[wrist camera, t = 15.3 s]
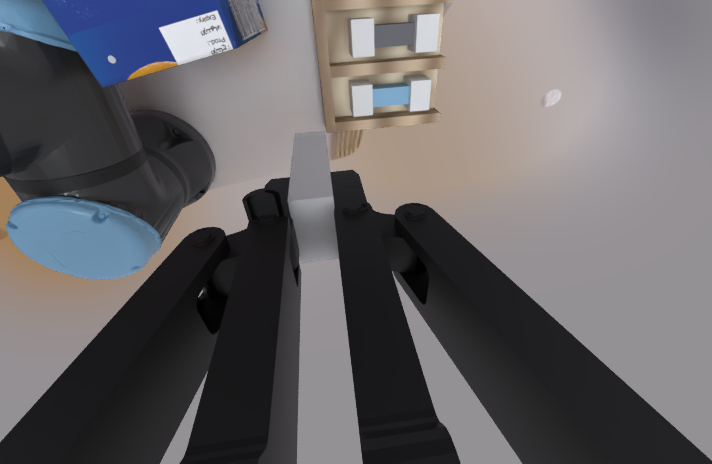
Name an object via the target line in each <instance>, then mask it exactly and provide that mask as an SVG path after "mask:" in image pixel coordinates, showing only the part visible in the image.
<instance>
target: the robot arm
mask: <svg viewBox="0 0 712 464" xmlns="http://www.w3.org/2000/svg"><path fill="white" fill-rule="evenodd" d="M2 176H3V177H4V178H5V179H6V181H7V182H8V183H9V185H10V186H11V187H12V188H13V190H14V191H15V193H16V194H17V195H18V197H19V198H20V199H21V201H22V202H21V203H19V204H17V205H16V206H15V207H14V208H13V209H12V210H11V214H10V215H9V217H8V218H9V221H8V223H7V224H6V228H7V233H8V235H9V237H10V239H11V241H12V242H13V243H14V245H15V246H16V247H17V248H18V249H19V250H20V251H21V252H23V253H24V254H25V255H26V256H28V257H29V258H30V259H32V260H34V261H35V262H37V263H39V264H41V265H43V266H45V267H47V268H50V269H52V270H54V271H57V272H61V273H66V274H69V275H71V276H75V277H80V278H86V279H100V280H103V279H116V278H121V277H125V276H128V275H131V274H133V273H135V272H137V271H139V270H140V269H141V268H142V267H144V266H145V265H146V264H147V262H148V261H149V260H150V258H151V257H152V256H153V255H154V254H155V253H156V252H157V251H158V250H159V249H160V247H161V244H162V242H163V240H164V239H165V237H166V235H167V234H168V232H169V230H170V228H171V227H172V225H173V223H174V222H175V220H176V218H177V217H178V215H179V213H180V211H181V210H182V208H184V207H186V206H188V205H190V204H192V203H194V202H196V201H197V200H199V199H200V198H201V197H202V196H203V195H204V194H205V193H206V192H207V191H208V189H209V187H210V185H211V184H212V182H213V179H214V176H215V161H214V157H213V154H212V151H211V149H210V147H209V146H208V144H207V142H206V141H205V140H204V138H203V137H202V136H201V135H200V134H199V133H198V132H197V131H196V130H195V129H194V128H193V127H191V126H190V125H189V124H187V123H186V122H184V121H182V120H181V119H179V118H177V117H175V116H172V115H170V114H167V113H163V112H159V111H151V110H143V111H136V112H132V113H130V112H129V110H128V108H127V105H126V103H125V101H124V98H123V96H122V94H121V91H120V89H119V86H118V84H117V83H116V84H113V85H110V86H106V87H103V88H102V86H101V85H100V84H99V82H98V81H97V79H96V78H95V76H94V75H93V73H92V72H91V71H90V69H89V68H88V66H87V65H86V63H85V62H84V61H83V59H82V58H81V56H80V55H79V53H78V52H77V50H76V49H75V48H74V46H73V45H72V43H71V42H70V40H69V39H68V37H67V36H66V35H65V33H64V32H63V30H62V29H61V27H60V26H59V24H58V23H57V22H56V20H55V19H54V17H53V16H52V14H51V13H50V11H49V10H48V9H47V7H46V6H45V4H44V3H43V1H42V0H0V177H2ZM242 201H243V204H244V207H245V211H246V213H247V217H248V220H249V223H248V227H247V229H245V230H242V231H240V232H237V233H234V234H230V235H227V236H226V235H225V232H224V230H222V229H221V228H217V227H207V228H202V229H198V230H196V231H195V232H193V233H191V234H189V235H188V236H187V237H185V238H184V239H183V240H182V241H181V243H180V244H179V245H178V246H177V247H176V248H175V249H174V250H173V251H172V253H171V254H170V255H169V256H168V257H167V258H166V259H165V260H164V261H163V262H162V264H161V265H160V266H159V267H158V268H157V269H156V270H155V271H154V273H153V274H152V275H151V276H150V277H149V278H148V279H147V280H146V281H145V282H144V284H143V285H142V286H141V287H140V288H139V289H138V290H137V291H136V292H135V293H134V295H133V296H132V297H131V298H130V299H129V300H128V301H127V302H126V304H125V305H124V306H123V307H122V308H121V309H120V310H119V311H118V312H117V314H116V315H115V316H114V317H113V318H112V319H111V320H110V321H109V322H108V323H107V325H106V326H105V327H104V328H103V329H102V330H101V331H100V332H99V333H98V334H97V336H96V337H95V338H94V339H93V340H92V341H91V342H90V343H89V344H88V346H87V347H86V348H85V349H84V350H83V351H82V352H81V353H80V354H79V356H78V357H77V358H76V359H75V360H74V361H73V362H72V364H70V366H69V367H68V368H67V369H66V370H65V371H64V372H63V373H62V374H61V376H60V377H59V378H58V379H57V380H56V381H55V382H54V383H53V384H52V386H51V387H50V388H49V389H48V390H47V391H46V392H45V393H44V394H43V396H42V397H41V398H40V399H39V400H38V401H37V402H36V403H35V404H34V405H33V407H32V408H31V409H30V410H29V411H28V412H27V413H26V414H25V416H24V417H23V418H22V419H21V420H20V421H19V422H18V423H17V424H16V426H15V427H14V428H13V429H12V430H11V431H10V432H9V433H8V434H7V435H6V437H5V438H4V439H3V440H2V441H1V442H0V464H160V462H161V460H162V458H163V456H164V454H165V452H166V450H167V448H168V447H169V444H170V442H171V441H172V439H173V437H174V435H175V433H176V431H177V429H178V427H179V425H180V423H181V421H182V419H183V418H184V415H185V414H186V412H187V410H188V408H189V406H190V404H191V402H192V400H193V398H194V396H195V394H196V392H197V390H198V388H199V387H200V385H201V383H202V381H203V379H204V377H205V375H206V373H207V371H208V373H207V377H206V381H205V384H204V388H203V392H202V395H201V399H200V403H199V406H198V410H197V414H196V417H195V421H194V425H193V428H192V432H191V436H190V439H189V443H188V447H187V450H186V453H185V455H184V458H183V459H182V461H181V462H180V464H297V422H298V383H299V342H300V300H301V270H300V265H299V256H300V261H301V263H306V262H314V261H323V260H331V259H339V261H340V270H341V278H342V287H343V296H344V304H345V313H346V321H347V330H348V338H349V347H350V356H351V365H352V373H353V382H354V391H355V398H356V408H357V416H358V425H359V434H360V443H361V451H362V460H363V464H460V460H459V458H458V455H457V452H456V449H455V446H454V444H453V441H452V438H451V436H450V434H449V432H448V430H447V428H446V427H445V426H444V425H443V424H442V423H441V422H440V421H439V420H438V418H437V416H436V413H435V410H434V407H433V404H432V400H431V397H430V394H429V391H428V388H427V384H426V381H425V378H424V375H423V372H422V368H421V365H420V362H419V359H418V355H417V352H416V349H415V345H414V342H413V339H412V336H411V332H410V329H409V326H408V323H407V319H406V316H405V313H404V310H403V306H402V303H401V300H400V297H399V294H398V290H397V287H396V284H395V280H394V278H393V274H392V271H393V273H394V275H395V277H396V279H397V280H398V282H399V283H400V285H401V286H402V287H403V289H404V291H405V292H406V294H407V295H408V296H409V298H410V299H411V301H412V302H413V304H414V305H415V307H416V308H417V310H418V311H419V312H420V314H421V315H422V317H423V318H424V320H425V321H426V323H427V324H428V326H429V327H430V328H431V330H432V332H433V333H434V334H435V336H436V337H437V339H438V340H439V342H440V343H441V345H442V346H443V348H444V349H445V350H446V352H447V354H448V355H449V356H450V358H451V359H452V361H453V362H454V364H455V365H456V367H457V368H458V369H459V371H460V373H461V374H462V375H463V377H464V378H465V380H466V381H467V383H468V384H469V386H470V387H471V389H472V390H473V392H474V393H475V394H476V396H477V397H478V399H479V400H480V402H481V403H482V405H483V406H484V408H485V409H486V410H487V412H488V414H489V415H490V416H491V418H492V419H493V421H494V422H495V424H496V425H497V427H498V428H499V430H500V431H501V433H502V434H503V435H504V437H505V438H506V440H507V441H508V443H509V444H510V446H511V447H512V449H513V450H514V452H515V453H516V454H517V456H518V457H519V459H520V460H521V462H522V463H523V464H712V461H711V460H710V459H709V458H708V457H707V456H706V455H705V454H704V453H702V452H701V451H700V450H699V449H698V448H697V447H696V446H695V445H694V444H692V443H691V442H690V441H689V440H688V439H687V438H686V437H685V436H683V435H682V434H681V433H680V432H679V431H678V430H677V429H676V428H675V427H674V426H672V425H671V424H670V423H669V422H668V421H667V420H666V419H665V418H664V417H663V416H661V415H660V414H659V413H658V412H657V411H656V410H655V409H654V408H653V407H651V406H650V405H649V404H648V403H647V402H646V401H645V400H644V399H643V398H641V397H640V396H639V395H638V394H637V393H636V392H635V391H634V390H633V389H631V388H630V387H629V386H628V385H627V384H626V383H625V382H624V381H623V380H621V379H620V378H619V377H618V376H617V375H616V374H615V373H614V372H613V371H611V370H610V369H609V368H608V367H607V366H606V365H605V364H604V363H603V362H602V361H600V360H599V359H598V358H597V357H596V356H595V355H594V354H593V353H592V352H590V351H589V350H588V349H587V348H586V347H585V346H584V345H582V343H581V342H579V341H578V340H577V339H576V338H575V337H574V336H573V335H572V334H571V333H569V332H568V331H567V330H566V329H565V328H564V327H563V326H562V325H560V324H559V323H558V322H557V321H556V320H555V319H554V318H553V317H552V316H550V315H549V314H548V313H547V312H546V311H545V310H544V309H543V308H542V307H541V306H539V305H538V304H537V303H536V302H535V301H534V300H533V299H532V298H530V296H528V295H527V294H526V293H525V292H524V291H523V290H522V289H521V288H519V287H518V286H517V285H516V284H515V283H514V282H513V281H512V280H511V279H509V278H508V277H507V276H506V275H505V274H504V273H503V272H502V271H501V270H500V269H498V268H497V267H496V266H495V265H494V264H493V263H492V262H490V260H488V259H487V258H486V257H485V256H484V255H483V254H482V253H481V252H480V251H478V250H477V249H476V248H475V247H474V246H473V245H472V244H471V243H470V242H469V241H467V240H466V239H465V238H464V237H463V236H462V235H461V234H460V233H459V232H457V231H456V230H455V229H454V228H453V227H452V226H451V225H450V224H449V223H447V222H446V221H445V220H444V219H443V218H442V217H441V216H440V215H439V214H438V213H436V212H435V211H434V210H433V209H432V208H430V207H428V206H427V205H423V204H420V203H409V204H404V205H402V206H400V207H399V208H397V209H396V211H395V215H392V214H383V213H379V212H376V211H374V210H373V209H372V207H371V205H370V204H369V203H368V202H367V200H366V197H365V194H364V190H363V187H362V183H361V181H360V177H359V174H357V173H356V172H355V171H353V170H347V171H337V172H330V167H329V159H328V151H327V144H326V136H325V131H319V132H308V133H298V134H295V137H294V146H293V155H292V164H291V173H290V177H289V178H279V179H271V180H270V181H269V182H268V183H267V184H266V185H265V188H263V189H258V190H255V191H253V192H250V193H249V194H247V195H246V196H245V197H244V198H243V200H242ZM202 289H203V293H202V294H201V296H200V297H199V298H198V296H199V294H200V292H201V291H202ZM208 369H209V370H208Z"/></svg>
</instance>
